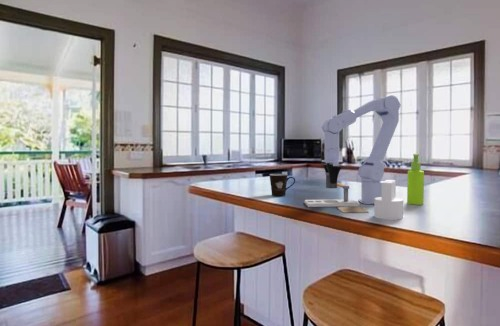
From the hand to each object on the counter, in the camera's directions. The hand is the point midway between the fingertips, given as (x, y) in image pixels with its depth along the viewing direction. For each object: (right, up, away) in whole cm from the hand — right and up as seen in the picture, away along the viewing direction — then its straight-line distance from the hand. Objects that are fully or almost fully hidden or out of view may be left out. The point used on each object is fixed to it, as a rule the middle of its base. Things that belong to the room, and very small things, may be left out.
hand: (331, 182), depth 135 cm
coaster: (+5, -10, -11) cm, 15 cm away
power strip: (0, -9, +1) cm, 9 cm away
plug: (0, -2, 0) cm, 2 cm away
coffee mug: (-18, -8, +25) cm, 32 cm away
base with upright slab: (+14, -10, -22) cm, 28 cm away
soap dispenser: (+34, -9, +1) cm, 35 cm away
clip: (+5, -2, +5) cm, 8 cm away
